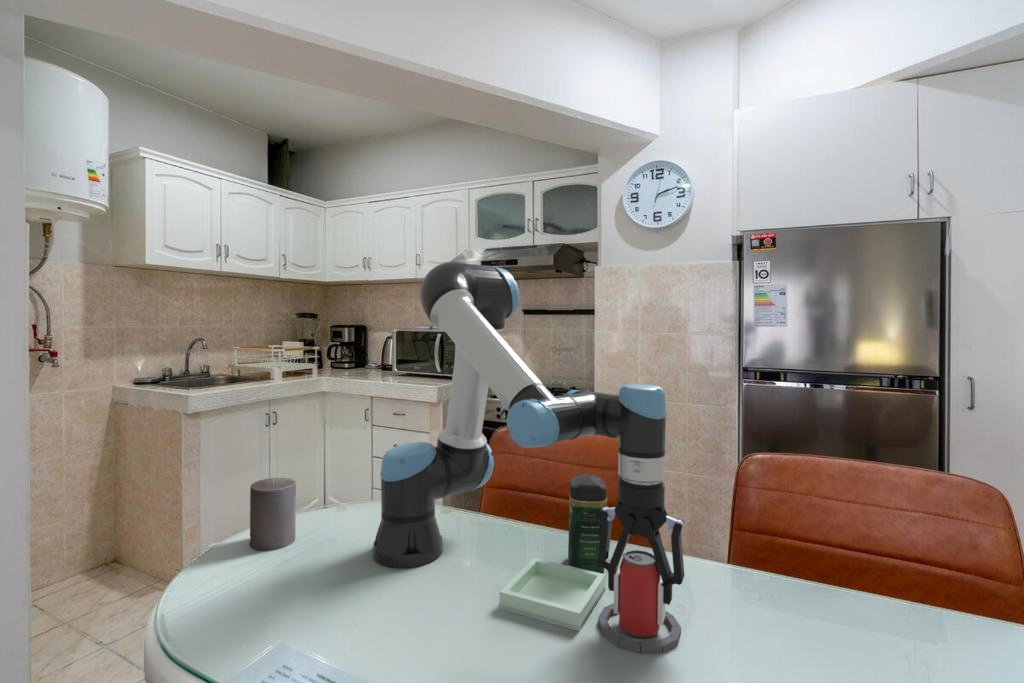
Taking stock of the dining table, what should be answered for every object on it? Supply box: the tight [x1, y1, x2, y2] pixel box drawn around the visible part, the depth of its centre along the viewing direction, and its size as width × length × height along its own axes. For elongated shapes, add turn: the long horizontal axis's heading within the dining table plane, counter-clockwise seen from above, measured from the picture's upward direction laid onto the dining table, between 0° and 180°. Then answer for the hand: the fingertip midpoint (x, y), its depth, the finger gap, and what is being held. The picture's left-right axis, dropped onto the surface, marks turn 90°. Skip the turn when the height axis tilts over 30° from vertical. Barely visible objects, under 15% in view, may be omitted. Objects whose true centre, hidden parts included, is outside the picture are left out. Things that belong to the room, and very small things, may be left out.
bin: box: [499, 557, 607, 632], centre depth 94 cm, size 15×15×3 cm
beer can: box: [618, 549, 661, 639], centre depth 85 cm, size 7×7×12 cm
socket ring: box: [597, 602, 682, 654], centre depth 85 cm, size 13×13×1 cm
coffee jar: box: [567, 473, 608, 573], centre depth 108 cm, size 10×8×19 cm
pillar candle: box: [249, 477, 297, 552], centre depth 118 cm, size 10×10×15 cm
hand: (639, 615), depth 85 cm, fingers closed on beer can, 6 cm apart
